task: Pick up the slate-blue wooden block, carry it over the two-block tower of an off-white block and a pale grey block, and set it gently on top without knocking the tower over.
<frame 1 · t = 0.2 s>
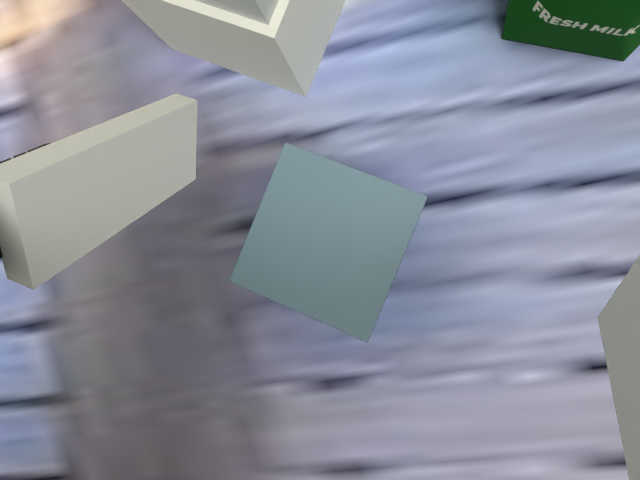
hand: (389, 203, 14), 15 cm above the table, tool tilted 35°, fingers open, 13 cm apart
slate block: (345, 247, 30), on the table
tower base: (266, 2, 31), on the table, touching tower top
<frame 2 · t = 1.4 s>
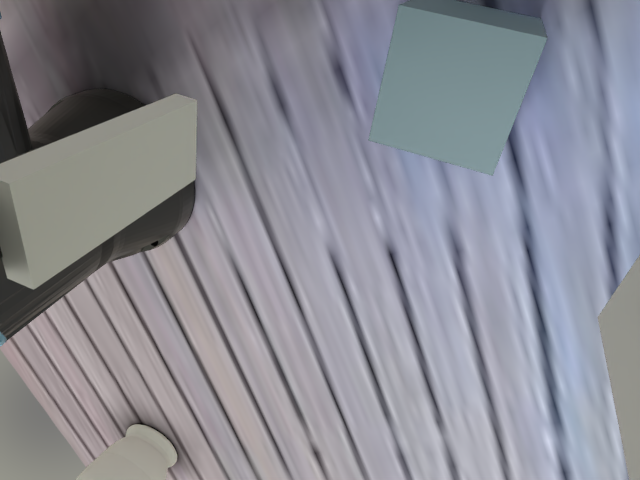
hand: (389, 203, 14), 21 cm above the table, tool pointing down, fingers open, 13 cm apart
slate block: (463, 64, 31), on the table
jar: (154, 442, 69), on the table
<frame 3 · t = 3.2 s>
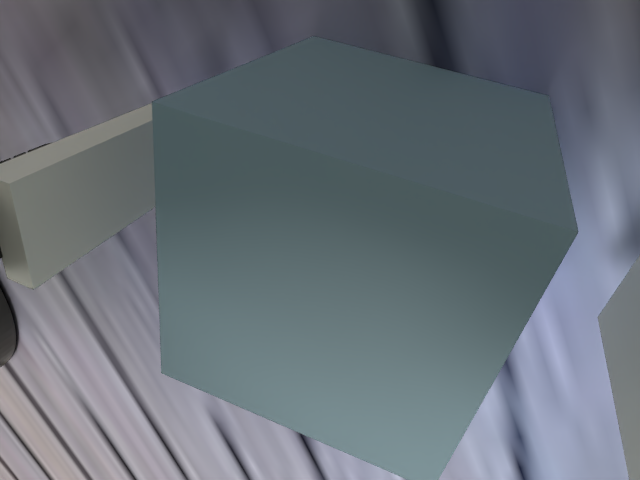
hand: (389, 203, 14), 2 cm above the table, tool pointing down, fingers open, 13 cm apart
slate block: (395, 171, 16), on the table
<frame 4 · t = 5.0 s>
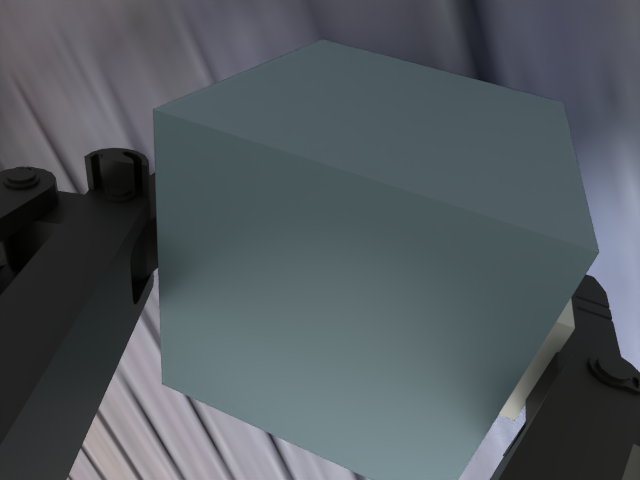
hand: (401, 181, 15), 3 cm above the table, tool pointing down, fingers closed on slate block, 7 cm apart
slate block: (403, 178, 15), point 2 cm above the table, touching gripper
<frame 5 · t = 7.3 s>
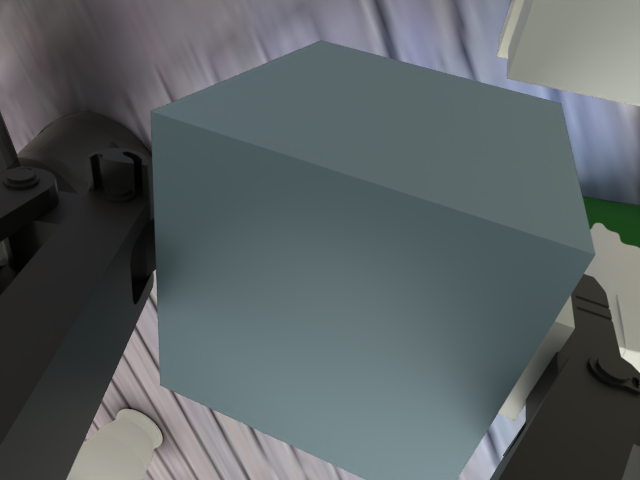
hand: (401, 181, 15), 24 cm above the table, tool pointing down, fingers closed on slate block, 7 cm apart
milk carton: (582, 235, 38), on the table
slate block: (402, 179, 15), point 24 cm above the table, touching gripper
jar: (141, 425, 76), on the table
when the fingers open (17 cm above the table, at t = 9.7 s): slate block stays where it is, resting on tower top.
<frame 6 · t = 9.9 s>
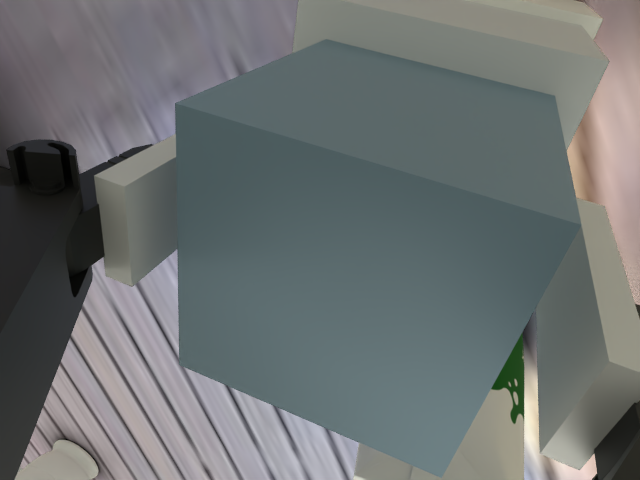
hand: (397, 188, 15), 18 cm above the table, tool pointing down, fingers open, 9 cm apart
milk carton: (461, 320, 38), on the table
tower top: (438, 105, 23), point 8 cm above the table, touching slate block, tower base
slate block: (404, 170, 16), point 16 cm above the table, touching tower top
jar: (79, 455, 77), on the table
tower base: (459, 73, 29), on the table, touching tower top
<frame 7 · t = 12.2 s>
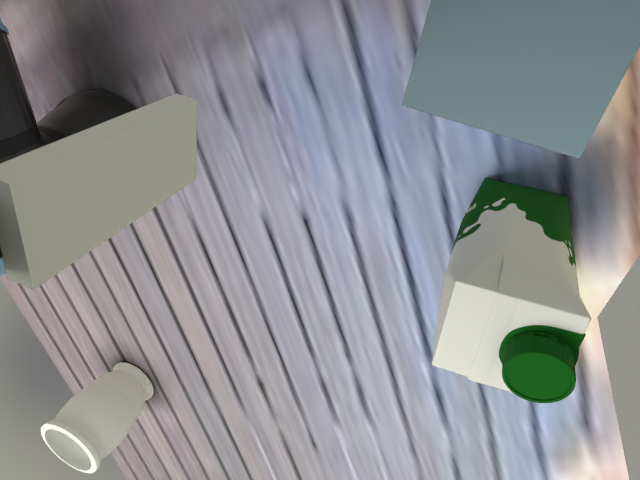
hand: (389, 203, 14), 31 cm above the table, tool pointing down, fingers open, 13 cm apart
milk carton: (513, 218, 45), on the table
slate block: (527, 14, 23), point 16 cm above the table, touching tower top
jar: (135, 378, 84), on the table
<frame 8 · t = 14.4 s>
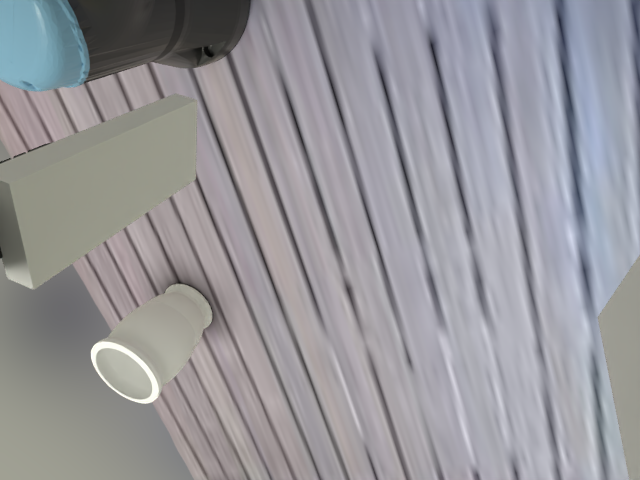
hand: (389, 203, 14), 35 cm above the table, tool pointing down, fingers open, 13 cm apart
jar: (190, 304, 74), on the table
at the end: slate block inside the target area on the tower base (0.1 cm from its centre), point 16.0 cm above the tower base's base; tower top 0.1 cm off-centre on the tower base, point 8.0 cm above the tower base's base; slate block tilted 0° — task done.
